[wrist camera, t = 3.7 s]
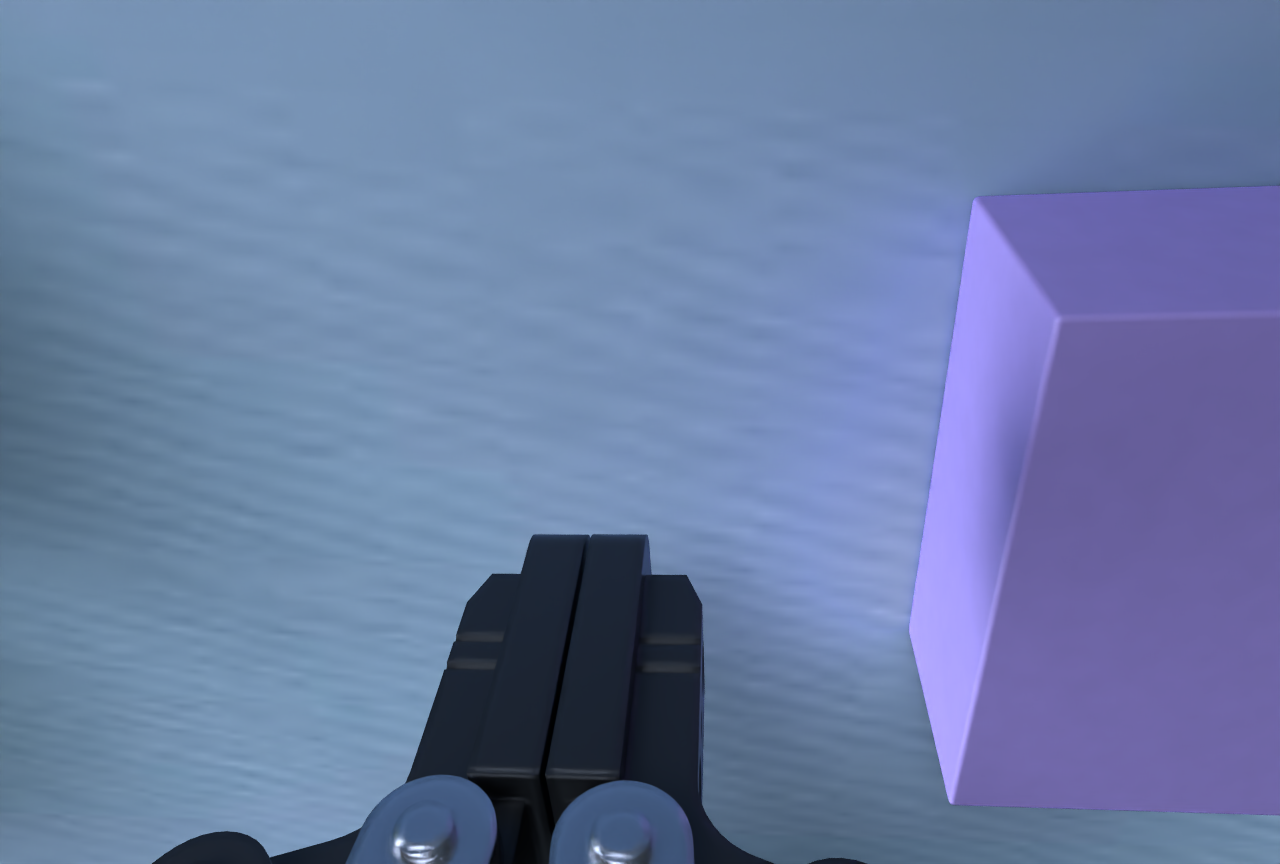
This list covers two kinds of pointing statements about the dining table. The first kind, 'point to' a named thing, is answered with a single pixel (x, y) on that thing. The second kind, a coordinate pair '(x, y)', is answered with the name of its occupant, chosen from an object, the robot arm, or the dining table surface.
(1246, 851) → the dining table surface
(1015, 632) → the lavender block
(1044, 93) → the dining table surface
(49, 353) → the dining table surface
